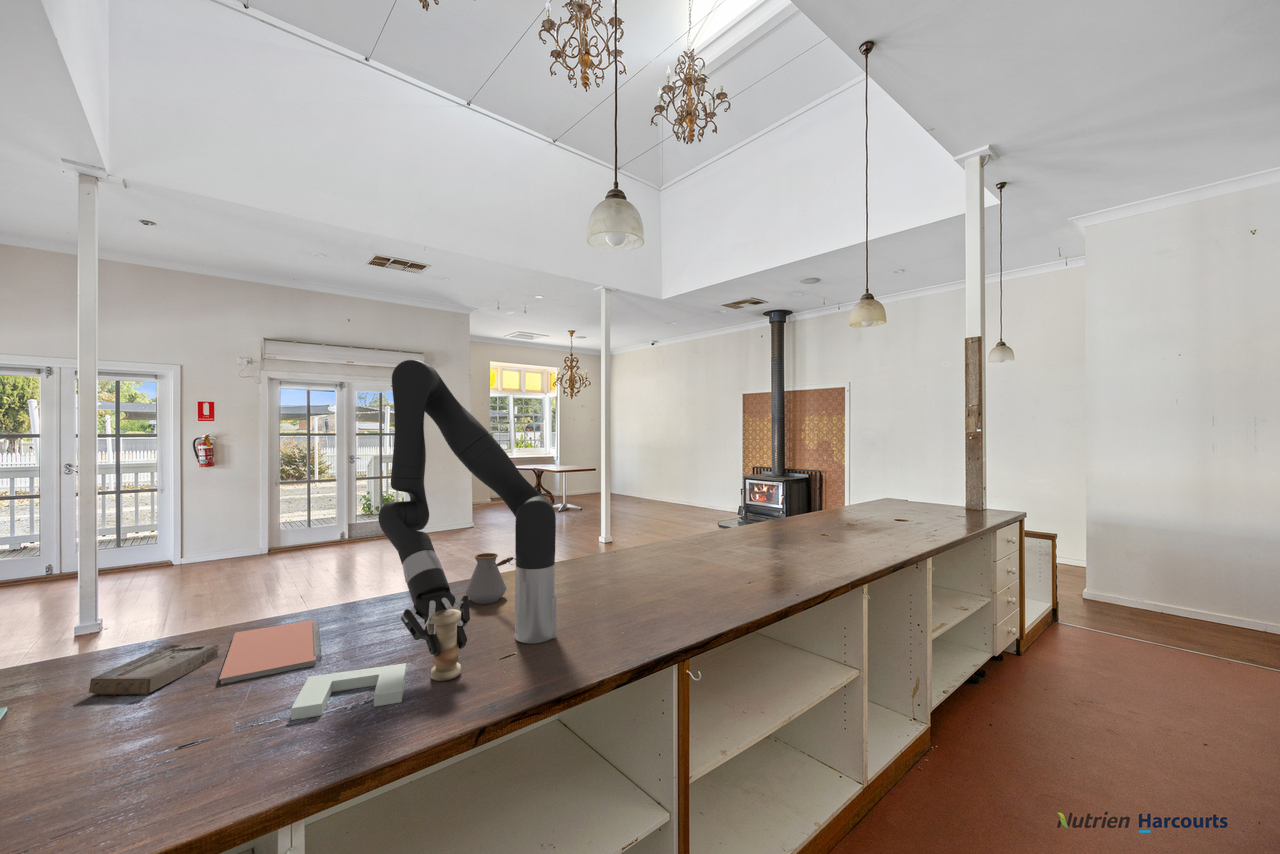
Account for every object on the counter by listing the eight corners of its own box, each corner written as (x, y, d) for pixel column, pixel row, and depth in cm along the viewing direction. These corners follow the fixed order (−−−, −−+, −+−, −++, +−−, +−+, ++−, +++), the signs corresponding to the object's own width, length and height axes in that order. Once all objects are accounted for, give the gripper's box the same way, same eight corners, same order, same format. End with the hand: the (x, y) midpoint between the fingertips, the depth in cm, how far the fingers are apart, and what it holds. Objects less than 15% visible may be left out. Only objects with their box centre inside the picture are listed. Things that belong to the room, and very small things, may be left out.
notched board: (406, 673, 104) (406, 663, 104) (401, 702, 93) (401, 691, 93) (308, 687, 98) (308, 676, 98) (291, 720, 87) (291, 708, 87)
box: (86, 696, 94) (88, 678, 94) (167, 657, 111) (168, 642, 111) (148, 696, 95) (149, 679, 95) (219, 658, 112) (220, 643, 112)
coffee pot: (458, 599, 151) (459, 547, 151) (494, 591, 159) (495, 542, 159) (493, 618, 136) (493, 561, 136) (531, 608, 143) (531, 554, 144)
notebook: (322, 666, 108) (322, 657, 108) (219, 687, 99) (219, 677, 99) (319, 625, 131) (319, 617, 131) (235, 639, 122) (235, 631, 122)
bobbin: (460, 665, 107) (460, 607, 107) (461, 677, 102) (461, 617, 102) (431, 670, 105) (431, 611, 105) (430, 682, 100) (430, 620, 100)
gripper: (395, 573, 104) (420, 652, 95) (462, 561, 114) (490, 630, 105) (385, 594, 107) (408, 671, 99) (451, 580, 118) (477, 649, 109)
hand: (450, 650), depth 102 cm, fingers closed on bobbin, 4 cm apart
